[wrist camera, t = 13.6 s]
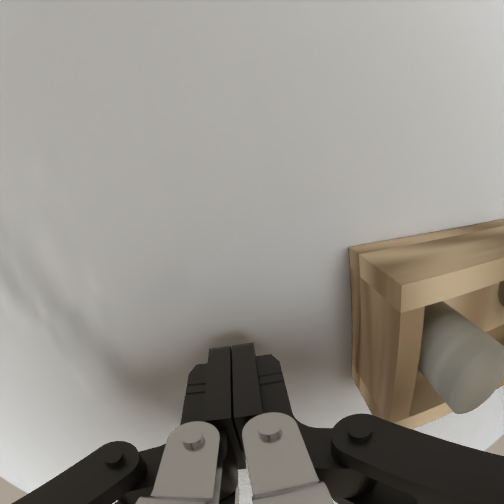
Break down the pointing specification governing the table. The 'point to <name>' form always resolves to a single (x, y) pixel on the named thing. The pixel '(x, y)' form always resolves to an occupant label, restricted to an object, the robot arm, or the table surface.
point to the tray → (403, 311)
